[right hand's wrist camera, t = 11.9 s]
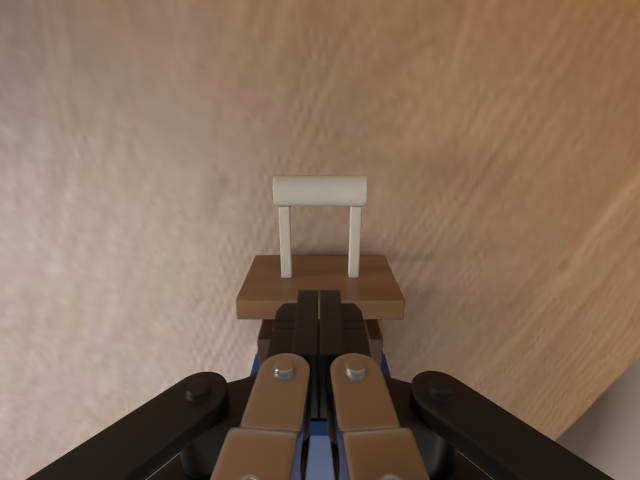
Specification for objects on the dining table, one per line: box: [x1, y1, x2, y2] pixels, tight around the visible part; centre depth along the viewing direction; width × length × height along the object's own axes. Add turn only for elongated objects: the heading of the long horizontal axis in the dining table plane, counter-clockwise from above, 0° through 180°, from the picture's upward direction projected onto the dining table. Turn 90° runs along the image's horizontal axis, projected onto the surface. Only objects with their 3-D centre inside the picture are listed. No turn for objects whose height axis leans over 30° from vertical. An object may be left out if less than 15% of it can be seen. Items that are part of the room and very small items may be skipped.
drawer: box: [236, 176, 405, 421], centre depth 23 cm, size 25×9×6 cm, turn 0°
